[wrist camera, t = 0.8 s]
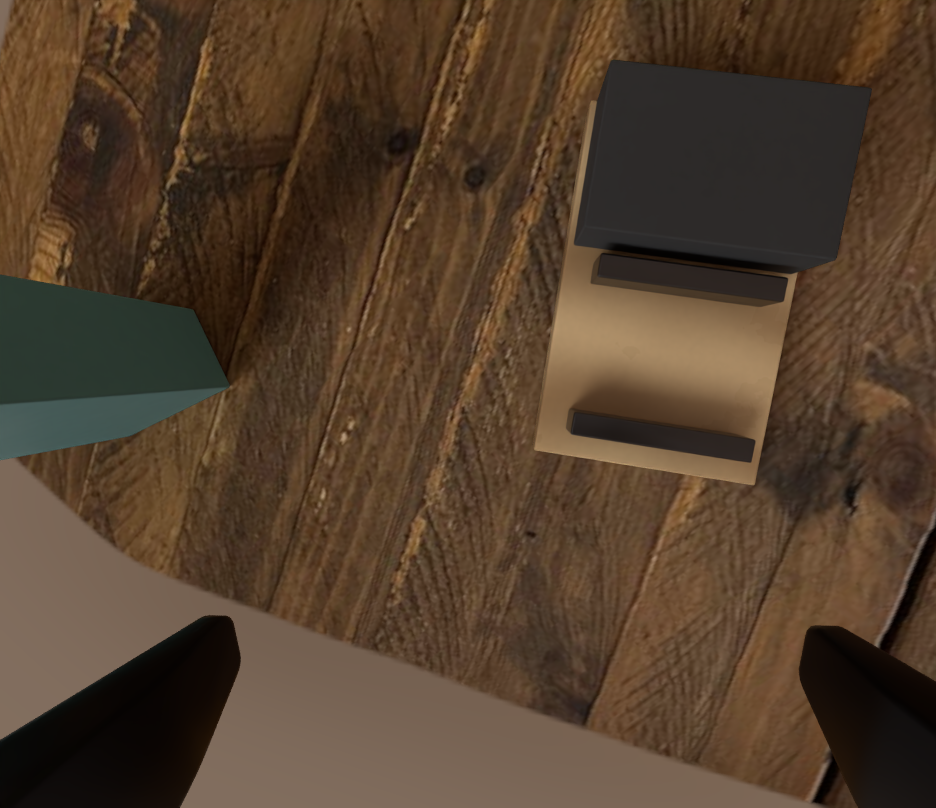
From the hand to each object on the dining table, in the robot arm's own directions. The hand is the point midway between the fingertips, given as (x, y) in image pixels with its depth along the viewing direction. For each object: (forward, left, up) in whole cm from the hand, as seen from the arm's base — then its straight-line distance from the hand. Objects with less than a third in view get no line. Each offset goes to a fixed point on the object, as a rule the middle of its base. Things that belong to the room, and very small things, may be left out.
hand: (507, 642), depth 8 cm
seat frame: (+8, -5, -12) cm, 15 cm away
